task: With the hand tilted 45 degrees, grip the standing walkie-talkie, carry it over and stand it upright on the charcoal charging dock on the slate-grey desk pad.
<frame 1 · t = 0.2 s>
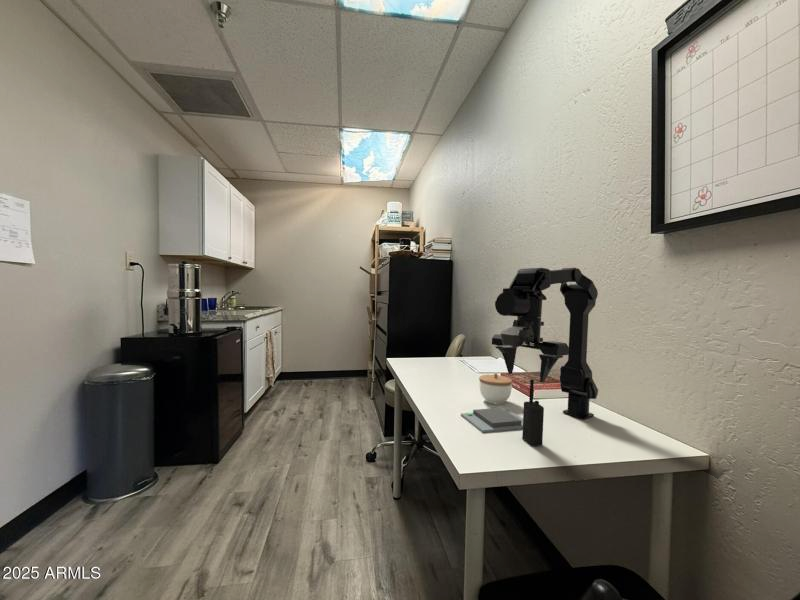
hand: (525, 377, 83), 15 cm above the table, tool pointing down, fingers open, 9 cm apart
charging dock: (496, 421, 91), on the table
walkie-talkie: (531, 442, 79), on the table
lidded jar: (494, 401, 109), on the table
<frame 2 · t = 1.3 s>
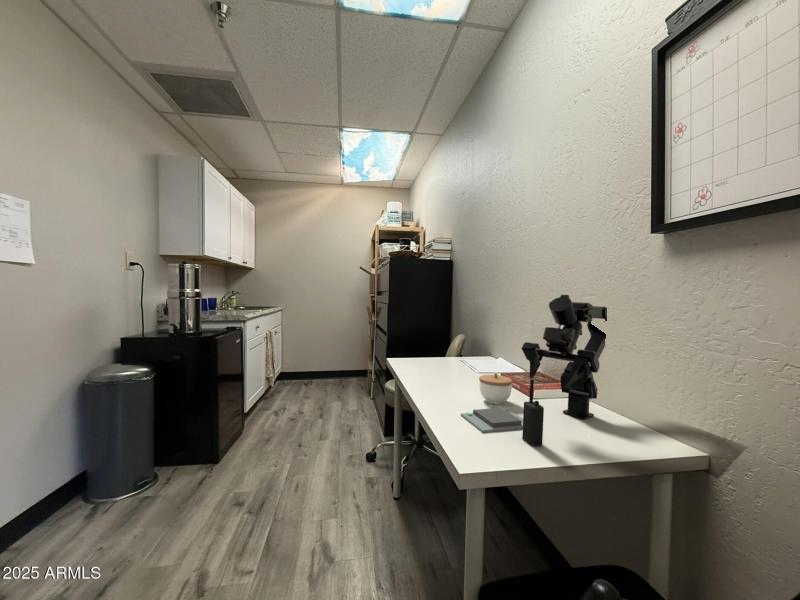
hand: (548, 381, 84), 14 cm above the table, tool tilted 45°, fingers open, 9 cm apart
nothing on the table moved.
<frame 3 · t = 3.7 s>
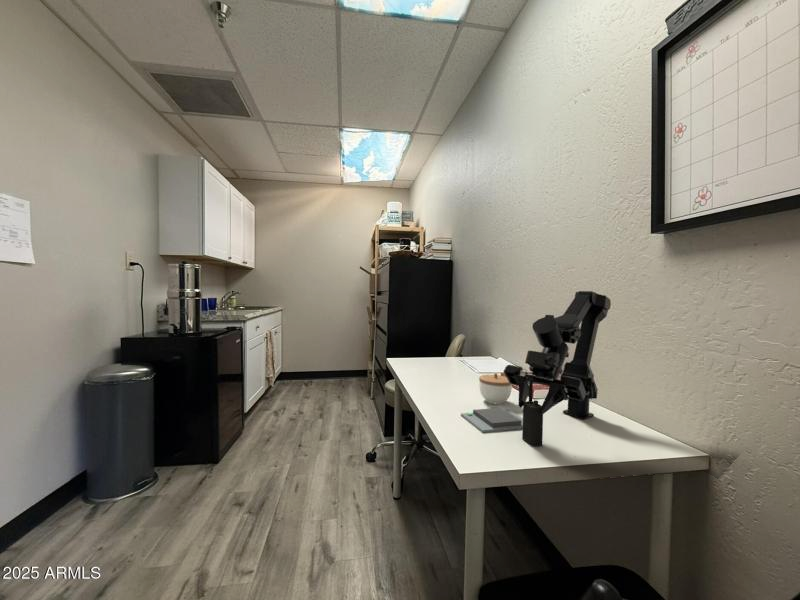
hand: (530, 410, 78), 8 cm above the table, tool tilted 45°, fingers closed on walkie-talkie, 5 cm apart
walkie-talkie: (531, 442, 79), on the table, touching gripper
everything else where it was.
when the fingers open (11 cm above the table, at t = 7.3 s): walkie-talkie stays where it is, resting on charging dock.
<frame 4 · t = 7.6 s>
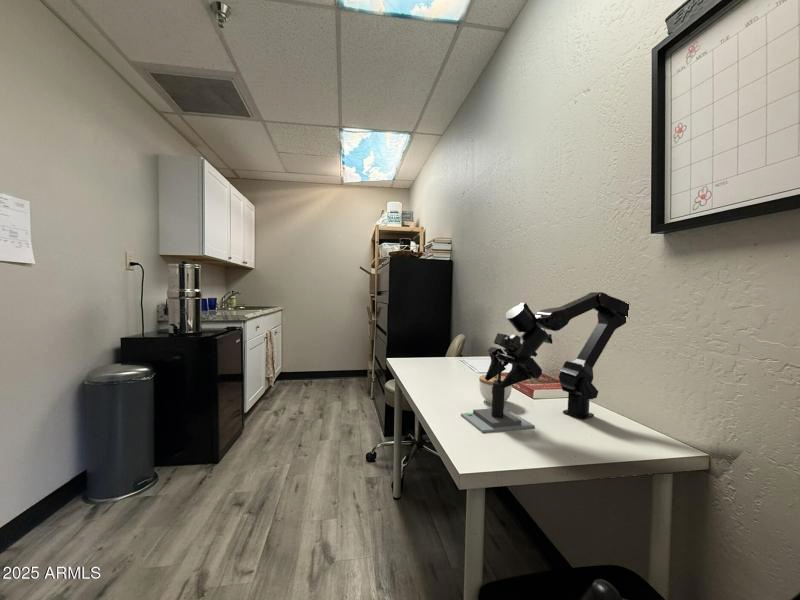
hand: (493, 383, 91), 11 cm above the table, tool tilted 45°, fingers open, 7 cm apart
walkie-talkie: (497, 415, 91), point 2 cm above the table, touching charging dock
everything else where it was.
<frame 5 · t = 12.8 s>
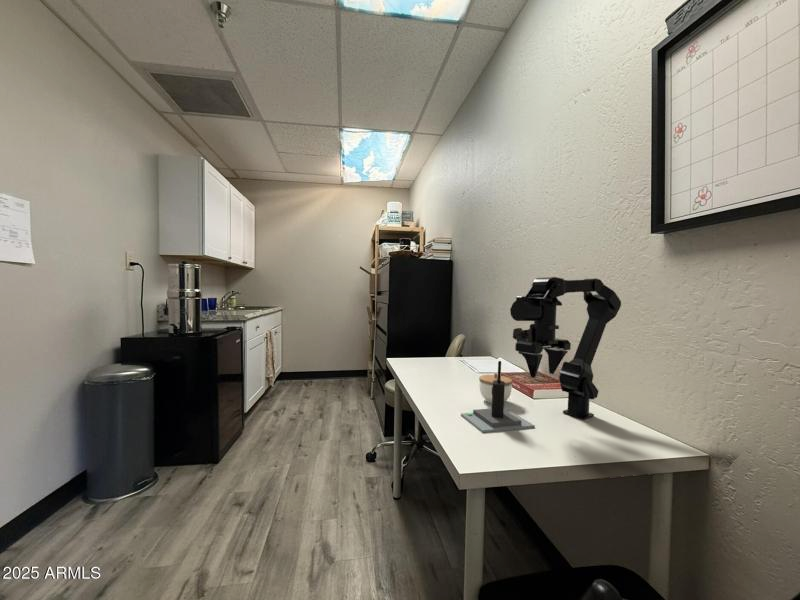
hand: (542, 375, 93), 13 cm above the table, tool pointing down, fingers open, 9 cm apart
nothing on the table moved.
at the end: walkie-talkie 0.2 cm off-centre on the charging dock, point 1.6 cm above the charging dock's base; walkie-talkie tilted 0°; the gripper is holding nothing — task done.
